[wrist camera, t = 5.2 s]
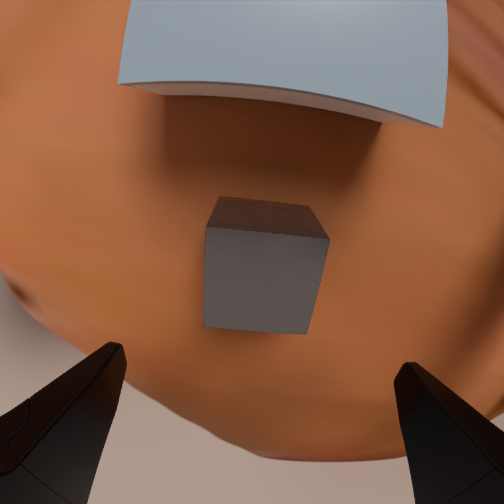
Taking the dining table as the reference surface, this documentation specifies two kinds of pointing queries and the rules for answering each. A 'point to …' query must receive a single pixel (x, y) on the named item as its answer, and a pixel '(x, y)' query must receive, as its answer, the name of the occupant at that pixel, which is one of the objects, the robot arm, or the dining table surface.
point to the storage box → (277, 99)
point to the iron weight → (262, 266)
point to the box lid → (297, 49)
